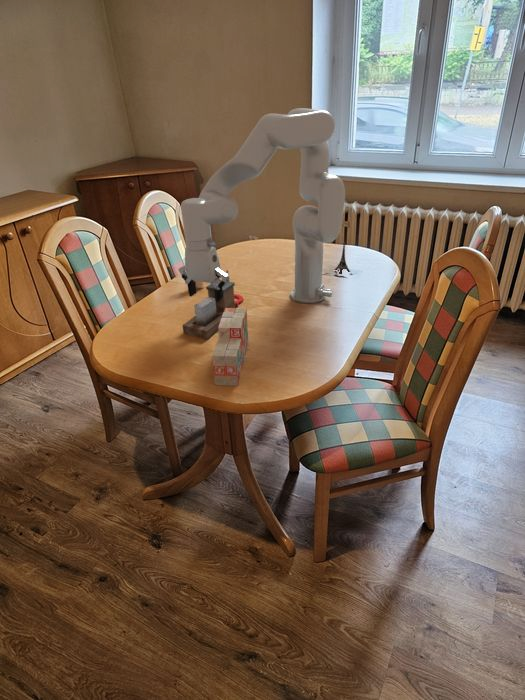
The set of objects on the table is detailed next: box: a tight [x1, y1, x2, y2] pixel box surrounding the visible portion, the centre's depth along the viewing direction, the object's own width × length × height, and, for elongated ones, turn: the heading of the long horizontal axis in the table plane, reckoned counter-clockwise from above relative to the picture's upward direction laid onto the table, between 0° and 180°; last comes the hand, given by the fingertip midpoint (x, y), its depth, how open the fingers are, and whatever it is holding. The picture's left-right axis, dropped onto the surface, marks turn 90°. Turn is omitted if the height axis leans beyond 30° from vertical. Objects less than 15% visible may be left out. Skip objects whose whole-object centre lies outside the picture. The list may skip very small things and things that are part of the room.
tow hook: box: [225, 270, 244, 308], centre depth 159 cm, size 8×13×9 cm
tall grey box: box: [193, 296, 217, 327], centre depth 144 cm, size 3×7×9 cm, turn 151°
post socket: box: [182, 279, 236, 341], centre depth 146 cm, size 9×19×11 cm, turn 152°
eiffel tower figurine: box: [334, 242, 351, 274], centre depth 179 cm, size 15×10×13 cm
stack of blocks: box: [212, 307, 249, 387], centre depth 125 cm, size 21×6×12 cm, turn 174°
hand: (206, 297), depth 141 cm, fingers open, 9 cm apart
